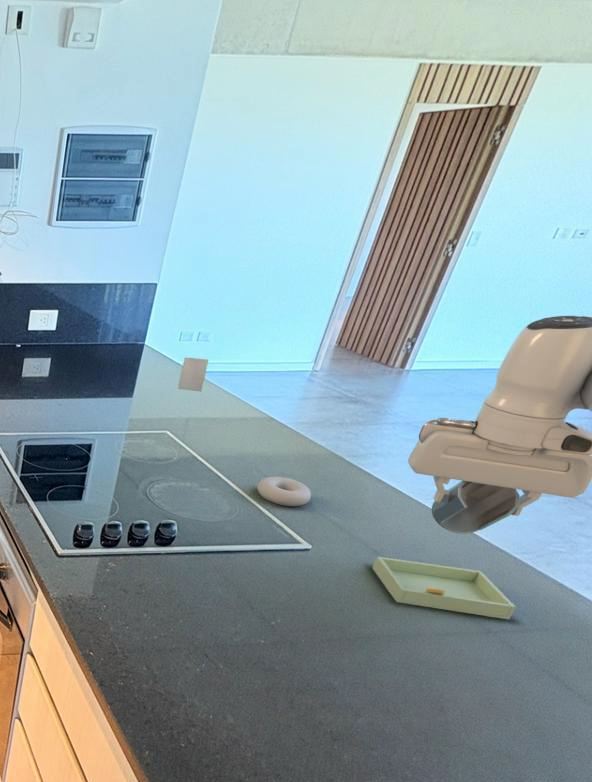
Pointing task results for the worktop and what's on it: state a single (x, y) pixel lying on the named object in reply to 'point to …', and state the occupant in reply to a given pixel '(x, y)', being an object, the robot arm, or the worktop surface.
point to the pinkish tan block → (193, 374)
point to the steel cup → (475, 507)
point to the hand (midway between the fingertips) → (474, 507)
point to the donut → (284, 491)
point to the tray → (442, 587)
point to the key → (435, 591)
